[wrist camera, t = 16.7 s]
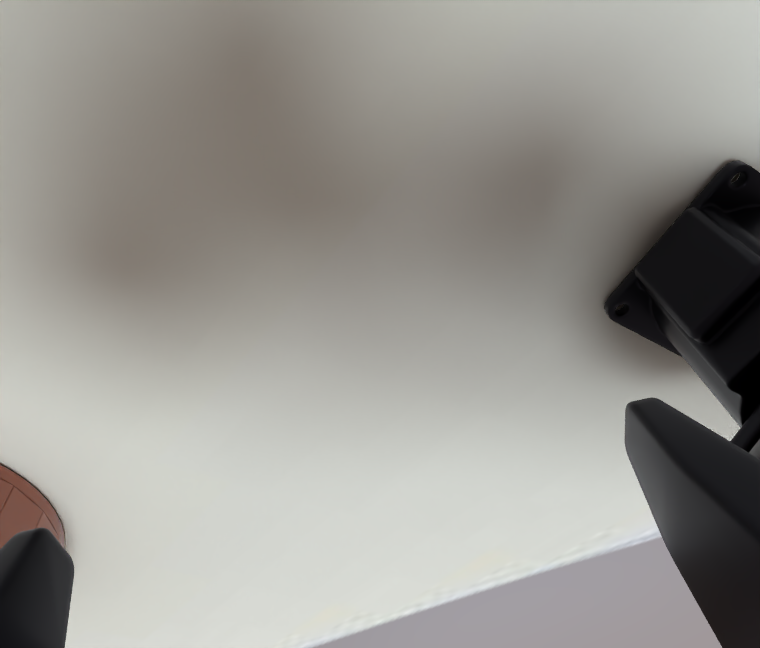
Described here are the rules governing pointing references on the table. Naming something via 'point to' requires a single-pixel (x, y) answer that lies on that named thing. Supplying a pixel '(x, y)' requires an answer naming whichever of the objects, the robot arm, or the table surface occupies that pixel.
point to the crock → (24, 508)
